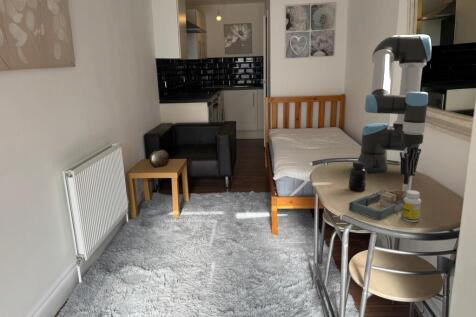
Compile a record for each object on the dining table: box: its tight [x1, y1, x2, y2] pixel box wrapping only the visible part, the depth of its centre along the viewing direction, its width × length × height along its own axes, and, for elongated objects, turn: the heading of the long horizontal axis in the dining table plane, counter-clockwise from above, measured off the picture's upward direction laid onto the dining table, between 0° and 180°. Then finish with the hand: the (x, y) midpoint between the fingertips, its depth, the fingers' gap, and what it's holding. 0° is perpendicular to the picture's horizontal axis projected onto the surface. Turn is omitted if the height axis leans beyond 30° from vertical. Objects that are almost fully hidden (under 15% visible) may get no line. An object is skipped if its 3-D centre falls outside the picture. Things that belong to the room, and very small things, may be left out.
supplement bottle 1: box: [348, 160, 368, 193], centre depth 150 cm, size 7×7×12 cm
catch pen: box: [348, 195, 397, 221], centre depth 129 cm, size 11×12×3 cm
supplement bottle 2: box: [401, 189, 422, 223], centre depth 121 cm, size 5×5×10 cm
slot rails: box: [365, 189, 404, 215], centre depth 135 cm, size 14×12×2 cm
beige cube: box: [379, 191, 396, 207], centre depth 135 cm, size 4×4×4 cm
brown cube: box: [388, 188, 405, 202], centre depth 139 cm, size 4×4×4 cm
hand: (406, 191), depth 143 cm, fingers closed
